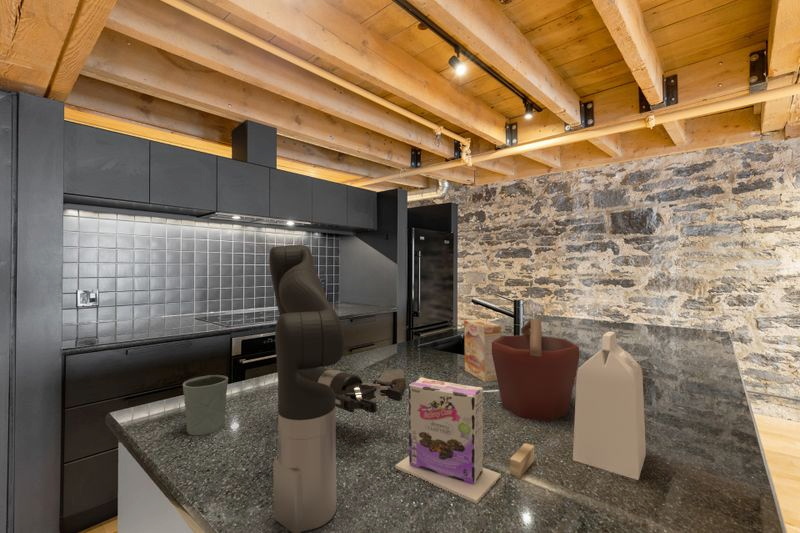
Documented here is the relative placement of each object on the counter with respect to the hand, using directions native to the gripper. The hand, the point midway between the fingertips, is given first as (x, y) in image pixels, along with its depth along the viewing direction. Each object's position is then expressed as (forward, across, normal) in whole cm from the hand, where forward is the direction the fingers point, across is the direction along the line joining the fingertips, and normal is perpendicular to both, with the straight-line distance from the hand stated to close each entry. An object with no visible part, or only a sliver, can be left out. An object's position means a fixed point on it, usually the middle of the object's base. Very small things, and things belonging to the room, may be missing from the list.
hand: (388, 402), depth 82 cm
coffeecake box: (-8, +62, +11) cm, 63 cm away
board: (+15, 0, +10) cm, 18 cm away
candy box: (+14, 0, +10) cm, 18 cm away
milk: (+39, +26, +11) cm, 48 cm away
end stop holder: (+17, +11, +10) cm, 23 cm away
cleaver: (-29, +35, +11) cm, 47 cm away
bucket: (+18, +43, +11) cm, 48 cm away
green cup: (-44, -20, +11) cm, 50 cm away
